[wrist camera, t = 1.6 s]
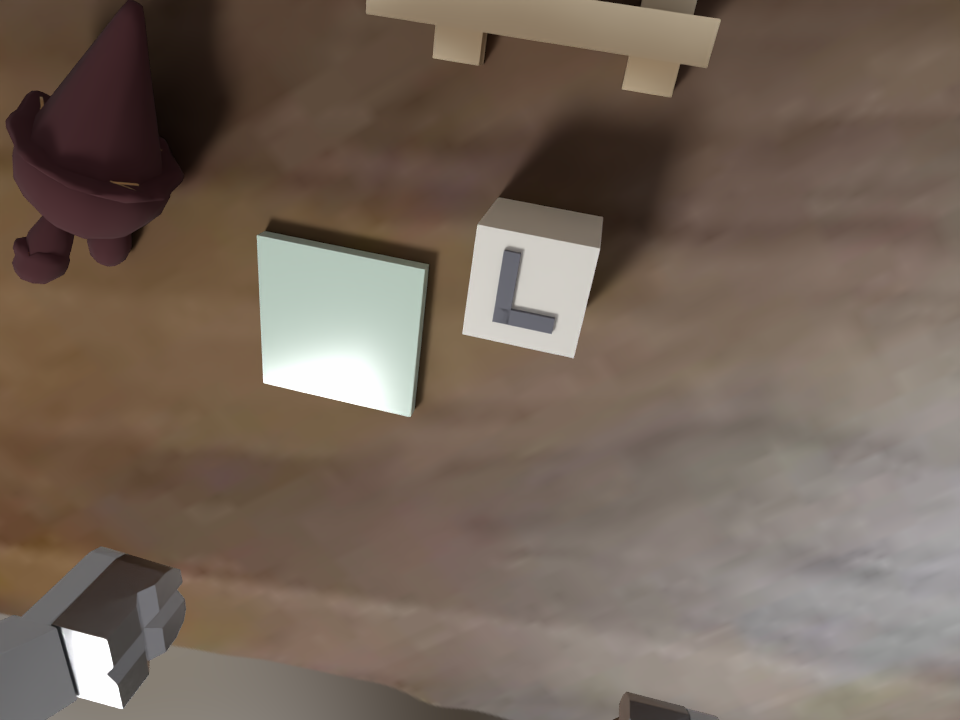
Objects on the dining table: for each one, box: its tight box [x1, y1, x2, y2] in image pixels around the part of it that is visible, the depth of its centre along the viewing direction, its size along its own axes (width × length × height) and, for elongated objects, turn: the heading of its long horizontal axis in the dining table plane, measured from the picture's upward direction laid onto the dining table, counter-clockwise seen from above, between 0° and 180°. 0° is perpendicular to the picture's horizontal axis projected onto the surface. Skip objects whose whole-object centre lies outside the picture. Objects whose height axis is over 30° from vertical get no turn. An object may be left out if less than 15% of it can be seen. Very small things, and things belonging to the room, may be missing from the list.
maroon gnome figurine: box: [6, 0, 184, 284], centre depth 28 cm, size 7×7×15 cm
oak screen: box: [366, 0, 721, 97], centre depth 21 cm, size 4×10×9 cm, turn 82°
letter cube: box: [462, 197, 603, 358], centre depth 28 cm, size 5×5×5 cm
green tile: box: [257, 231, 429, 417], centre depth 33 cm, size 9×9×1 cm
